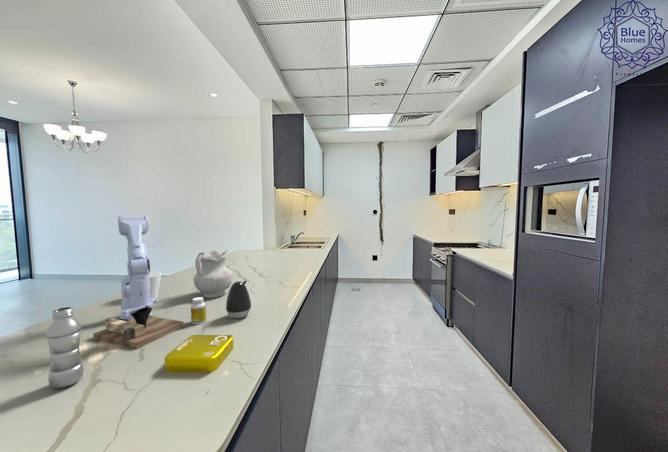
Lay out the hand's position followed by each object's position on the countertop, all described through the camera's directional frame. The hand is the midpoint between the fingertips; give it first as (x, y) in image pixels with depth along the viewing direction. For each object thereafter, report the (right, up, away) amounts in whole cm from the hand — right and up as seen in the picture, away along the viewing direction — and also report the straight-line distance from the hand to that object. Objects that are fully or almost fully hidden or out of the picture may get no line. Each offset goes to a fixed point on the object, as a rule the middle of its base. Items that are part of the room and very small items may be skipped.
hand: (141, 328), depth 96 cm
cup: (-28, -1, +44) cm, 52 cm away
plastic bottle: (-1, -5, -26) cm, 27 cm away
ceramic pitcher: (+4, -1, +48) cm, 48 cm away
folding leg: (-6, -1, -1) cm, 6 cm away
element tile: (+29, -4, -14) cm, 32 cm away
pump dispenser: (+29, -2, +18) cm, 34 cm away
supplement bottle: (+14, -2, +13) cm, 19 cm away
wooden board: (-3, -3, +4) cm, 5 cm away
